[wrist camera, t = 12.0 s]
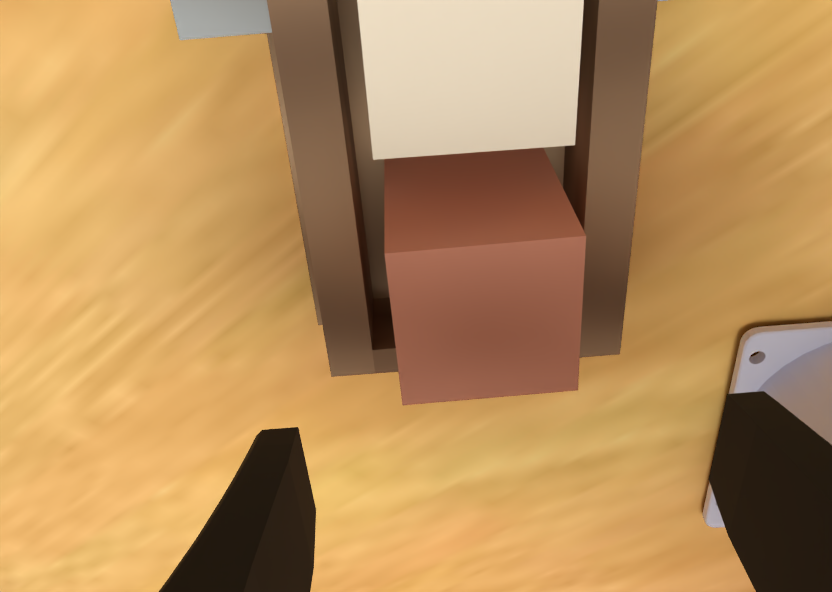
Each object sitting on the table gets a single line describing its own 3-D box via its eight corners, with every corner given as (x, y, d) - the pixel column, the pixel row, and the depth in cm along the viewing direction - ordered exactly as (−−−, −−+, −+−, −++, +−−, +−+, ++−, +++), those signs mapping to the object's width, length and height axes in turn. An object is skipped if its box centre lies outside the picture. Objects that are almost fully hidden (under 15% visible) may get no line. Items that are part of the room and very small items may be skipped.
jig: (666, 279, 23) (707, 347, 20) (261, 311, 23) (244, 383, 20) (765, -431, 14) (866, -498, 11) (107, -375, 14) (34, -426, 11)
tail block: (535, 266, 21) (577, 390, 17) (398, 278, 21) (402, 405, 17) (537, 134, 19) (586, 235, 14) (384, 148, 19) (384, 254, 14)
